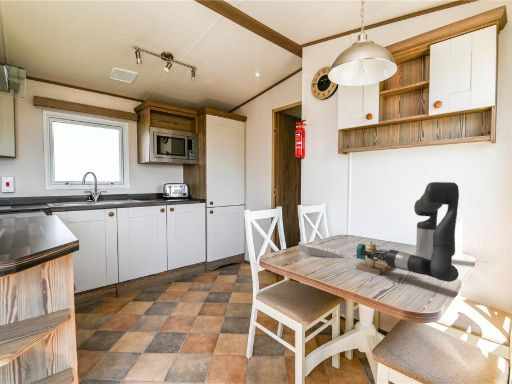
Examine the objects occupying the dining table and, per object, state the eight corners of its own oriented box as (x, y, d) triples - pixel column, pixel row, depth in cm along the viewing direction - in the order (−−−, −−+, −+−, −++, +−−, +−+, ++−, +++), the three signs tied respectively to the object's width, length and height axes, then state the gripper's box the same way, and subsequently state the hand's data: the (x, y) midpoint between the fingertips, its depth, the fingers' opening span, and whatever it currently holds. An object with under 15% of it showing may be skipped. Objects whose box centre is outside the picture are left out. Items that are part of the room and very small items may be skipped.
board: (372, 260, 139) (373, 256, 139) (394, 265, 131) (394, 261, 131) (356, 269, 125) (356, 264, 125) (379, 275, 117) (379, 270, 117)
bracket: (368, 261, 138) (368, 246, 138) (356, 258, 143) (356, 244, 143) (382, 255, 150) (382, 241, 150) (370, 252, 155) (371, 239, 155)
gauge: (367, 264, 126) (368, 240, 126) (376, 266, 123) (378, 242, 122) (363, 266, 123) (364, 241, 123) (372, 268, 120) (374, 243, 119)
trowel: (346, 255, 151) (346, 246, 150) (338, 261, 138) (338, 252, 137) (303, 247, 167) (303, 239, 166) (292, 253, 154) (292, 244, 153)
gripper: (409, 249, 115) (373, 241, 129) (391, 254, 107) (356, 245, 121) (408, 265, 115) (373, 256, 129) (391, 271, 107) (356, 261, 121)
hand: (365, 251), depth 125 cm, fingers open, 5 cm apart
